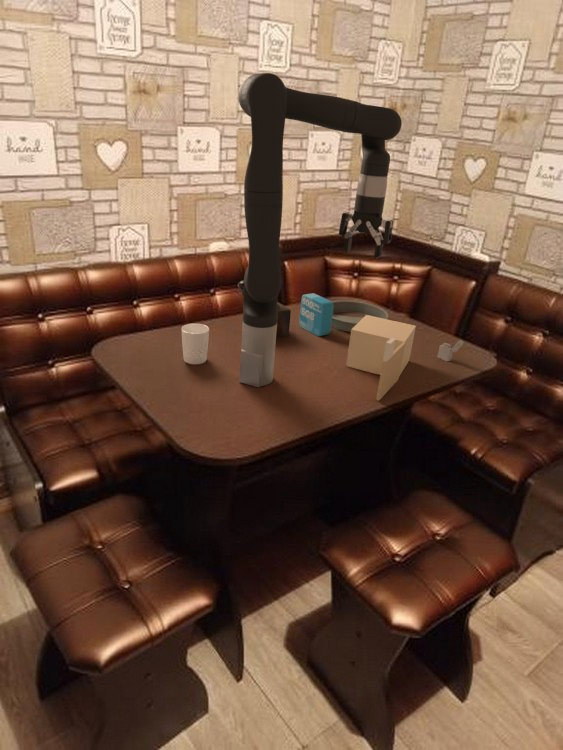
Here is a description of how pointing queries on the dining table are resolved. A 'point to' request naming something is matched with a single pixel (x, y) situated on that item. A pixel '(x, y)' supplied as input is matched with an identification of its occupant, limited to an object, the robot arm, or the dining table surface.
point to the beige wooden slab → (390, 367)
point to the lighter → (448, 350)
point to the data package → (316, 314)
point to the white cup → (195, 343)
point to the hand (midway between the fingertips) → (361, 255)
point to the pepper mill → (283, 316)
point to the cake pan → (354, 307)
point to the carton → (377, 342)
